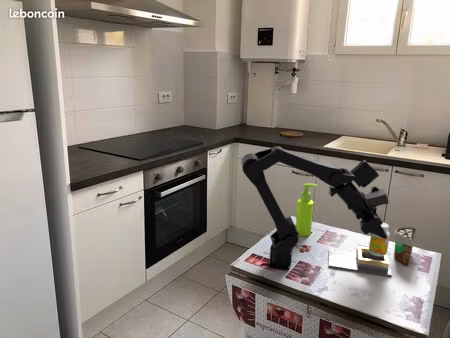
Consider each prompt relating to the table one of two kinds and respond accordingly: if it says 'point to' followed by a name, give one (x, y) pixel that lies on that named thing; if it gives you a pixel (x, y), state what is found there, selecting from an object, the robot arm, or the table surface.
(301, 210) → the soap dispenser
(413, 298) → the table surface
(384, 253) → the supplement bottle
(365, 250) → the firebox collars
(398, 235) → the food container
